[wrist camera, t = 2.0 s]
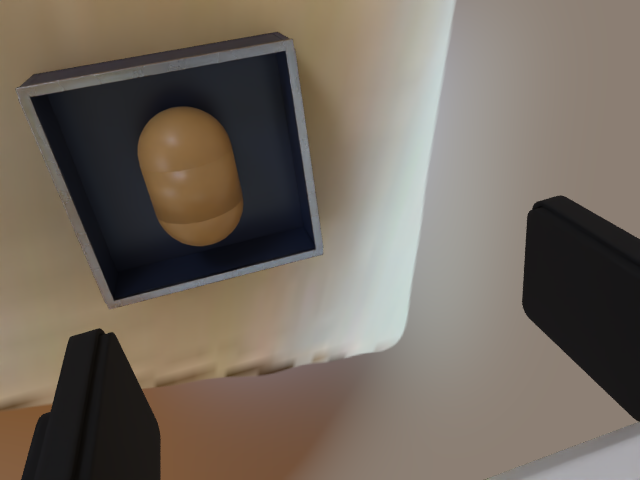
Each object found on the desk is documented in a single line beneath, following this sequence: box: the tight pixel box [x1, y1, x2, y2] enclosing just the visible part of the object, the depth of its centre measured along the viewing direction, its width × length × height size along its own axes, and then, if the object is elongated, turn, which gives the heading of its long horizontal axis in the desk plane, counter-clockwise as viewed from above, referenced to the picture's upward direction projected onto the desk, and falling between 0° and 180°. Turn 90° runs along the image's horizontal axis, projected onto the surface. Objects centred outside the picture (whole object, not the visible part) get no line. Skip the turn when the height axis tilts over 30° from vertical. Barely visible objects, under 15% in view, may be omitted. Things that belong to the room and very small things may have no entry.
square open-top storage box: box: [15, 32, 323, 309], centre depth 29 cm, size 13×13×4 cm
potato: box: [138, 106, 243, 246], centre depth 28 cm, size 5×8×5 cm, turn 8°
